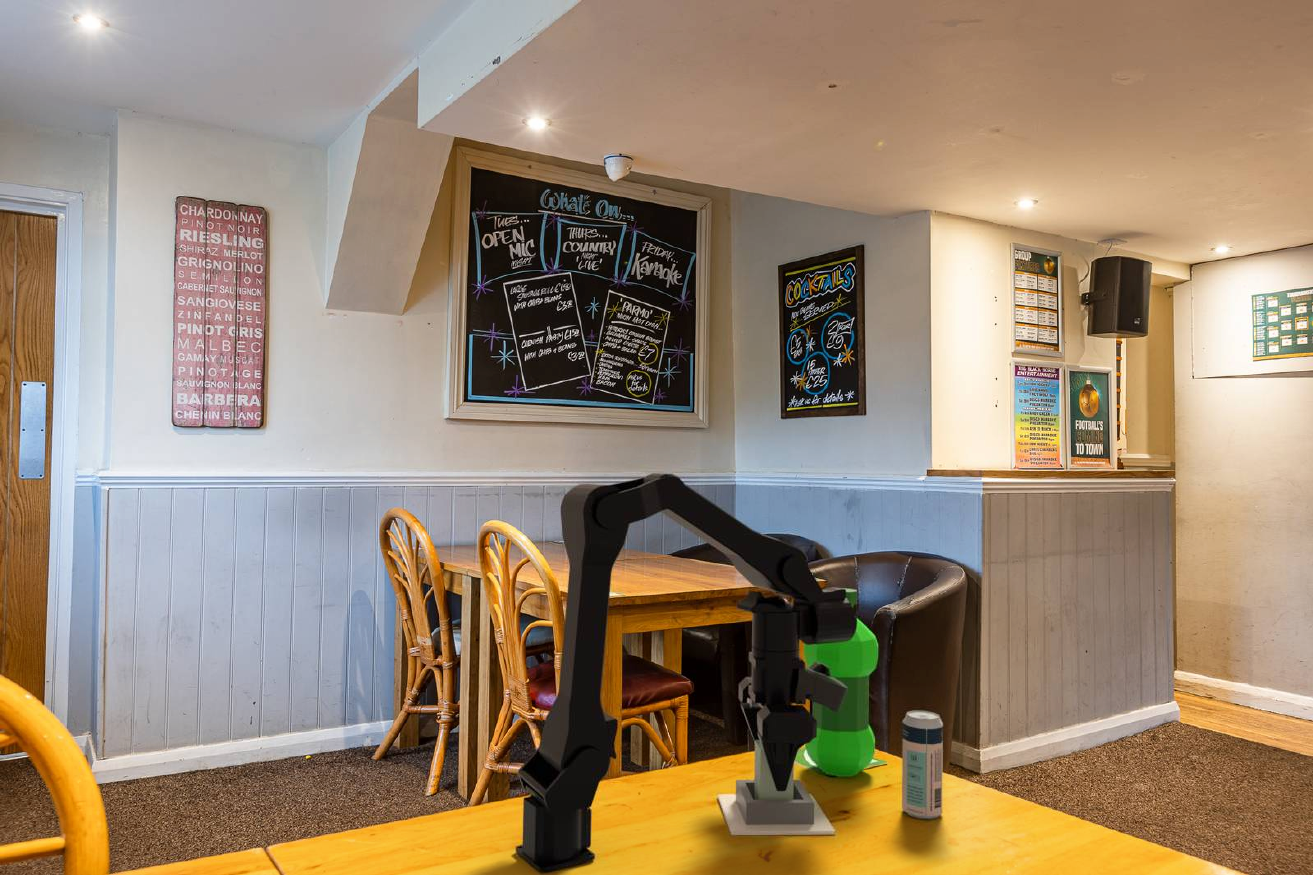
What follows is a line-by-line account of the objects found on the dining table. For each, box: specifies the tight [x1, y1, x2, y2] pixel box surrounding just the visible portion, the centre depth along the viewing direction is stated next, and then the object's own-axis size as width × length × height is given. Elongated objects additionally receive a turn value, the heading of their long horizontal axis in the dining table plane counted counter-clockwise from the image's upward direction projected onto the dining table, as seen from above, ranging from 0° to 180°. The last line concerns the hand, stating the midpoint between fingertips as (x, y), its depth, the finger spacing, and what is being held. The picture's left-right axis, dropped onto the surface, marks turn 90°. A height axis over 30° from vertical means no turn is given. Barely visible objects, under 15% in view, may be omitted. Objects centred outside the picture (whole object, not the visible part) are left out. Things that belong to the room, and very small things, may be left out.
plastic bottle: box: [803, 587, 879, 778], centre depth 130 cm, size 10×10×25 cm
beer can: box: [901, 710, 944, 820], centre depth 114 cm, size 5×5×12 cm
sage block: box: [753, 740, 795, 800], centre depth 112 cm, size 4×4×8 cm
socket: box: [717, 779, 836, 836], centre depth 112 cm, size 12×12×3 cm
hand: (773, 777), depth 112 cm, fingers open, 9 cm apart
